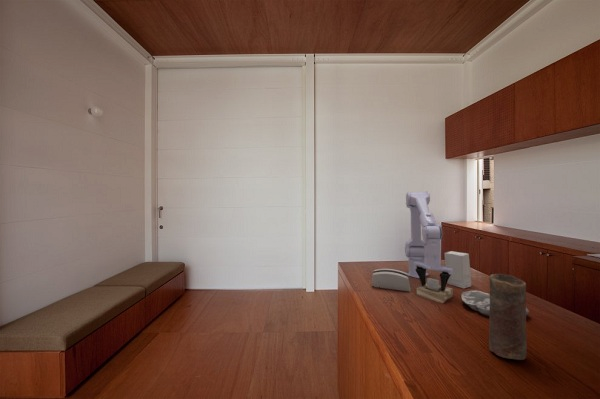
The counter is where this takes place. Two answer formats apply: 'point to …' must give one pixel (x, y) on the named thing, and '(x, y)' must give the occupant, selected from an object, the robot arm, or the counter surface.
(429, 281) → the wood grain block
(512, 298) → the brown tall cylinder
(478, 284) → the counter surface
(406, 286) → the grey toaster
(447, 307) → the counter surface
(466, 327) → the counter surface
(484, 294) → the brain slice
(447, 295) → the well block
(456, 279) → the skincare box
